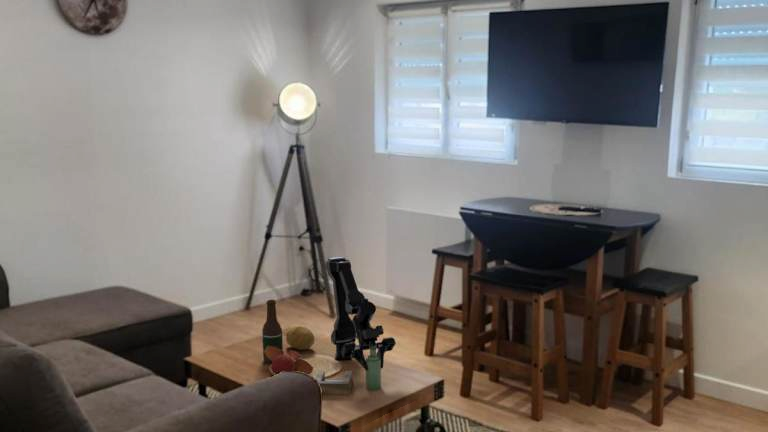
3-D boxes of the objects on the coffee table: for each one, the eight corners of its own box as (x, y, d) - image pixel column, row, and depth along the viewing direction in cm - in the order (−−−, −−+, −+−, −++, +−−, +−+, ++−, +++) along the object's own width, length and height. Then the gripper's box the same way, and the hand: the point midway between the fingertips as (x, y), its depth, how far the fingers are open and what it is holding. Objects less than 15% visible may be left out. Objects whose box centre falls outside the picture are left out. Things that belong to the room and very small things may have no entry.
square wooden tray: (318, 381, 253) (318, 370, 253) (352, 381, 253) (352, 370, 252) (313, 394, 242) (313, 383, 241) (348, 394, 241) (348, 383, 240)
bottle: (366, 384, 250) (365, 343, 248) (381, 384, 250) (380, 343, 248) (366, 390, 245) (365, 348, 242) (381, 390, 245) (380, 348, 243)
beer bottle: (285, 357, 278) (283, 298, 275) (280, 364, 271) (278, 303, 267) (265, 357, 279) (263, 297, 275) (260, 364, 271) (258, 303, 268)
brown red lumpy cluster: (265, 361, 270) (250, 366, 255) (274, 340, 270) (260, 343, 255) (311, 384, 265) (298, 390, 251) (320, 362, 265) (308, 367, 251)
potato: (299, 320, 295) (281, 323, 289) (320, 328, 286) (302, 332, 280) (297, 342, 296) (279, 346, 290) (318, 351, 287) (301, 355, 281)
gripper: (343, 321, 244) (354, 362, 235) (393, 315, 251) (406, 354, 242) (336, 336, 252) (347, 377, 244) (385, 330, 259) (397, 369, 251)
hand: (374, 369), depth 245 cm, fingers closed on bottle, 5 cm apart
